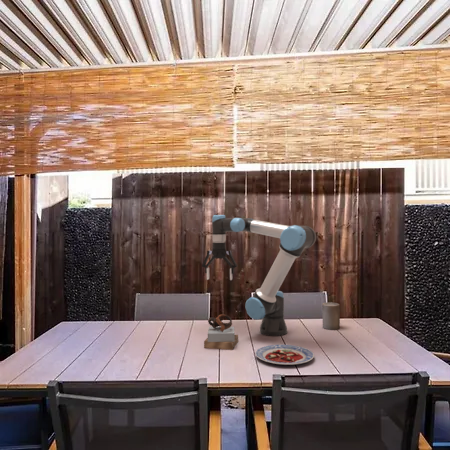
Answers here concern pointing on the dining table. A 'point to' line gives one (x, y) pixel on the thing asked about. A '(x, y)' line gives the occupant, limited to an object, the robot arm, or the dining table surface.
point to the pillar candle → (331, 315)
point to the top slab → (221, 334)
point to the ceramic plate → (284, 354)
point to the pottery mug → (220, 322)
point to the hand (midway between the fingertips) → (219, 279)
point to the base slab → (221, 344)
